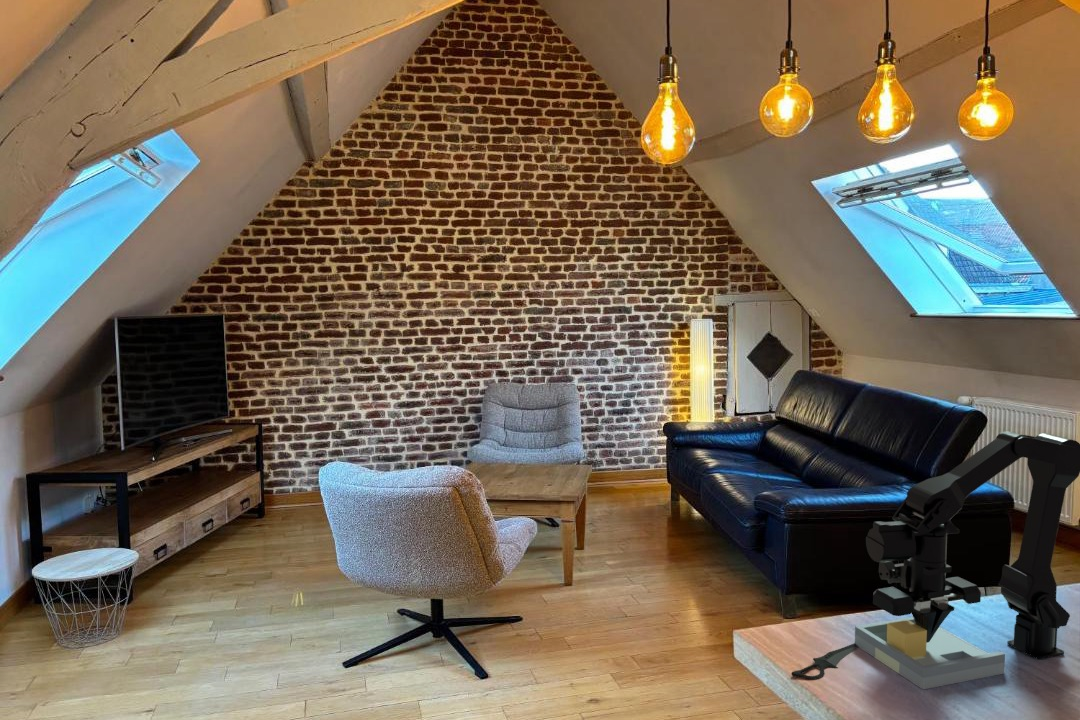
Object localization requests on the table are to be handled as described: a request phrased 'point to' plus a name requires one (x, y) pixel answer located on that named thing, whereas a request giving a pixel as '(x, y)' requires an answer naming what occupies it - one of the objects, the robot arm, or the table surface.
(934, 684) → the tray
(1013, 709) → the table surface
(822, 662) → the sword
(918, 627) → the block
